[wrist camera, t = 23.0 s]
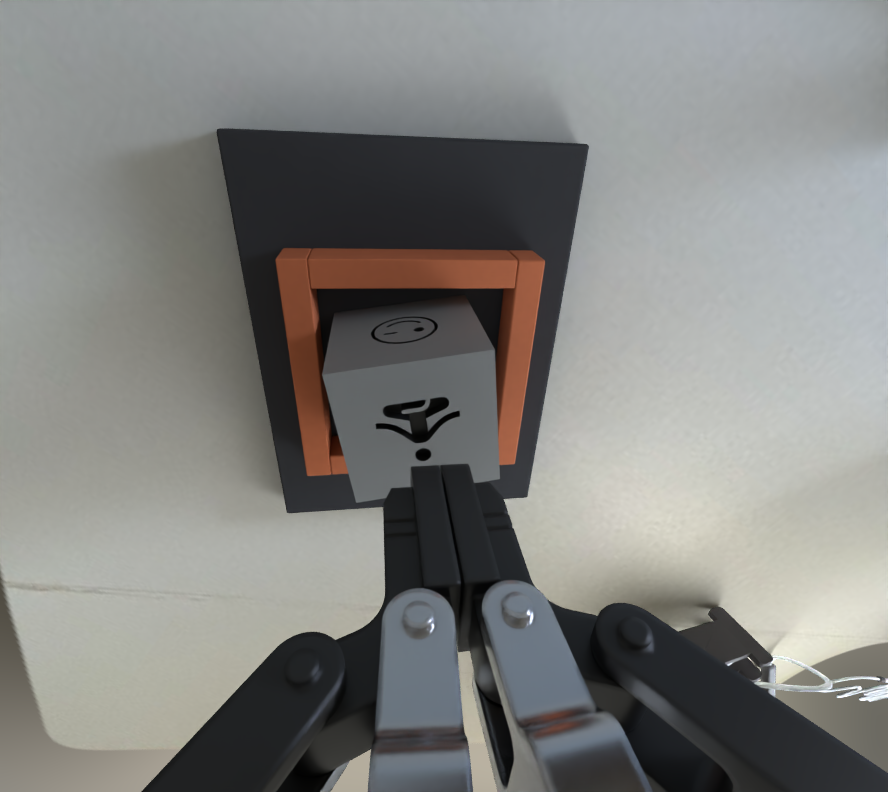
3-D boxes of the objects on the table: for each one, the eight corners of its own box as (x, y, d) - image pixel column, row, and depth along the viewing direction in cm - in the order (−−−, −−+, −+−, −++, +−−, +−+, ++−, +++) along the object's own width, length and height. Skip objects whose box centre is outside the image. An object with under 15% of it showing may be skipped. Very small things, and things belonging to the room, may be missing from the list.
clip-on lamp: (787, 591, 39) (651, 607, 30) (871, 661, 34) (737, 705, 25) (711, 680, 43) (573, 718, 34) (775, 755, 38) (632, 821, 29)
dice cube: (464, 294, 18) (494, 349, 13) (472, 403, 20) (500, 479, 16) (334, 312, 17) (322, 374, 13) (359, 421, 20) (356, 502, 16)
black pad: (289, 499, 23) (281, 538, 21) (224, 128, 15) (199, 129, 13) (522, 484, 24) (536, 519, 22) (578, 143, 16) (610, 146, 14)
